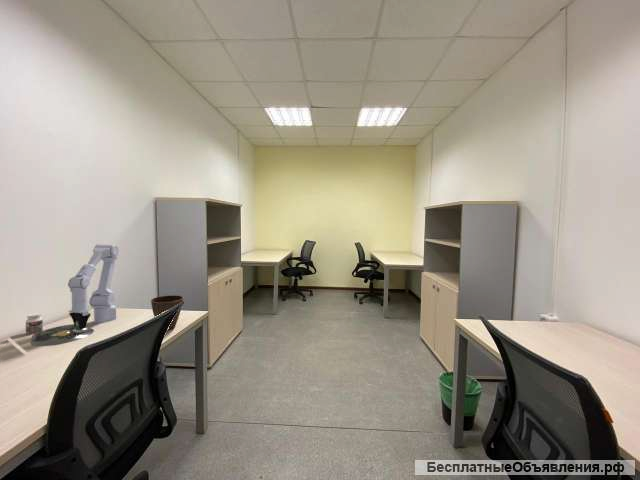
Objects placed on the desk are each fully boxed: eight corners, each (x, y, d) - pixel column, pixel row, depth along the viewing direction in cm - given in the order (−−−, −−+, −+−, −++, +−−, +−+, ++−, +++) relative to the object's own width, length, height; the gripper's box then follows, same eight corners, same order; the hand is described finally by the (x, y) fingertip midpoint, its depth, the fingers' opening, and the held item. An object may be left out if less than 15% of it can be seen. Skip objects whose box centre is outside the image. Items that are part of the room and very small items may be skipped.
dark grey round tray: (83, 326, 144) (83, 320, 144) (101, 335, 133) (101, 329, 133) (24, 340, 125) (23, 334, 125) (39, 352, 114) (39, 345, 114)
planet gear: (85, 329, 138) (84, 318, 138) (89, 331, 135) (89, 320, 135) (70, 332, 133) (70, 321, 133) (75, 335, 130) (74, 323, 130)
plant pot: (178, 321, 154) (178, 293, 154) (187, 328, 144) (186, 298, 143) (148, 327, 144) (147, 298, 143) (155, 335, 133) (155, 304, 133)
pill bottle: (31, 337, 129) (31, 316, 129) (22, 335, 131) (22, 315, 130) (45, 332, 135) (45, 313, 135) (37, 331, 136) (36, 312, 136)
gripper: (63, 299, 134) (64, 326, 134) (74, 304, 126) (75, 332, 127) (81, 297, 140) (82, 322, 140) (93, 301, 132) (93, 328, 133)
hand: (80, 327), depth 134 cm, fingers open, 5 cm apart
